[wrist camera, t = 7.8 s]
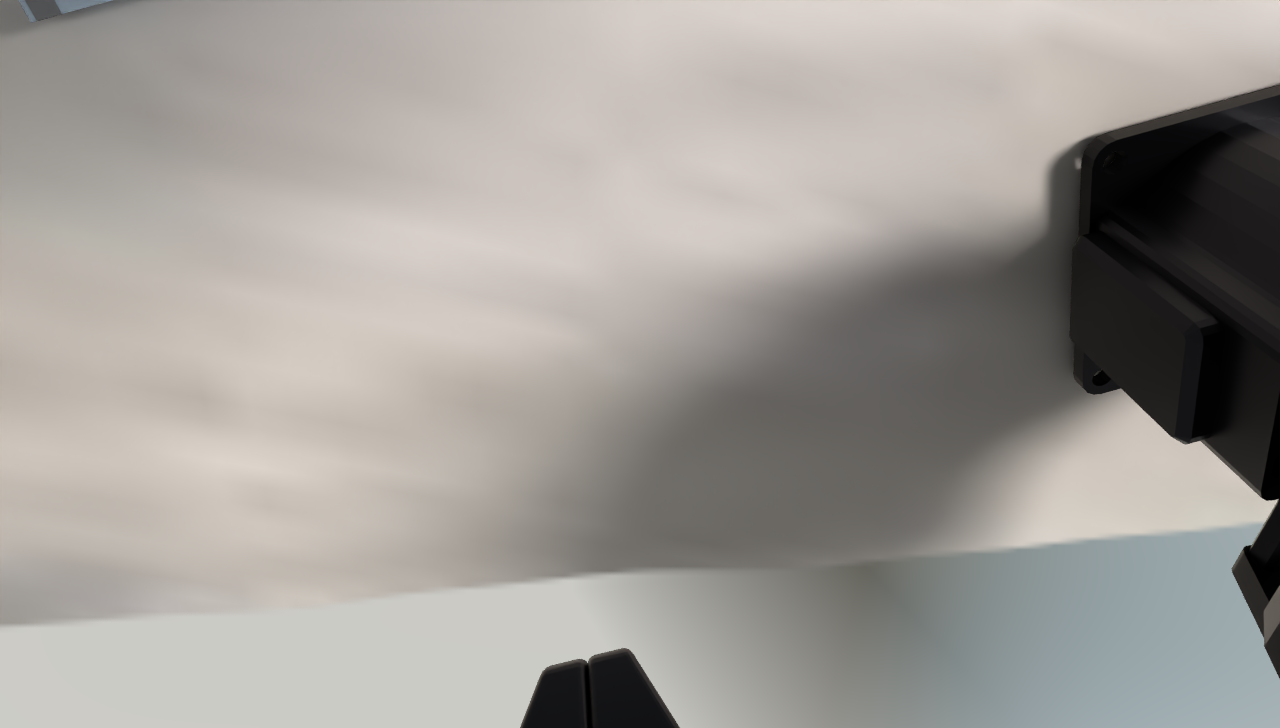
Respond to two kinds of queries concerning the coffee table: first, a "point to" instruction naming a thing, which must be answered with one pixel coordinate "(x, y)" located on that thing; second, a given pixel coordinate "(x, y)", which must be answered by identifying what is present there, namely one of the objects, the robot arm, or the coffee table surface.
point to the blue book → (54, 7)
